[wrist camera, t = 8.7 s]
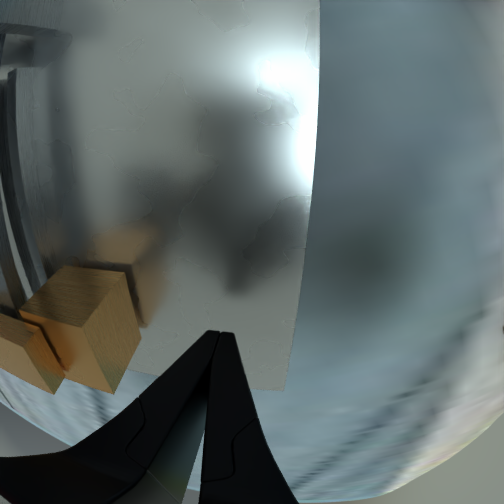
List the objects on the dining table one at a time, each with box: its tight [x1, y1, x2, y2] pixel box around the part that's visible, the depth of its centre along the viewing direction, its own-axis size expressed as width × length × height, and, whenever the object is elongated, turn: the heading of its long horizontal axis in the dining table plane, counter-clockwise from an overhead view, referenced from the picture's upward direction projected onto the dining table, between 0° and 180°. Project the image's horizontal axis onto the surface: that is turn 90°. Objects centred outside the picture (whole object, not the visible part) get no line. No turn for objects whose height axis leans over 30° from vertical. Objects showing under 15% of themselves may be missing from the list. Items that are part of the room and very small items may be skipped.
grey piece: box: [0, 0, 320, 391], centre depth 9 cm, size 16×18×7 cm
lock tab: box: [0, 265, 142, 395], centre depth 9 cm, size 6×3×4 cm, turn 89°
